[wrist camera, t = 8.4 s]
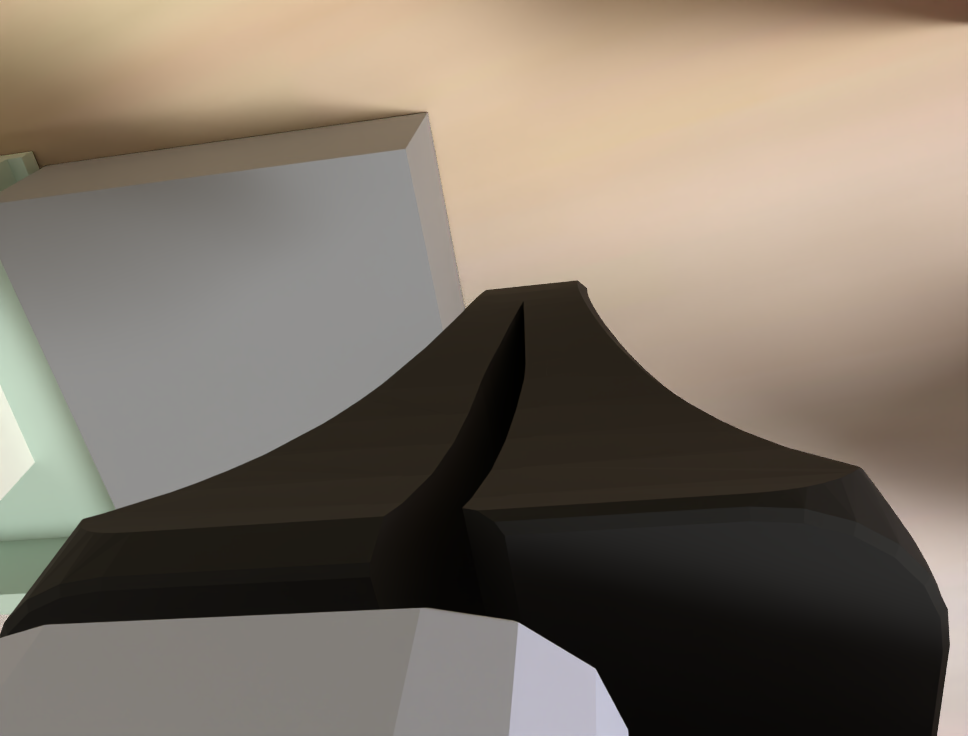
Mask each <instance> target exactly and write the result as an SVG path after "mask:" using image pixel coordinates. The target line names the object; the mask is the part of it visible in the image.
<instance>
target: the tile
mask: <svg viewBox="0 0 968 736" xmlns="http://www.w3.org/2000/svg"><path fill="white" fill-rule="evenodd" d="M34 463H35V462H34V459H33V457H32V455H31V453H30V451H29V448H28V446H27V444H26V442H25V439H24V437H23V435H22V433H21V430H20V428H19V426H18V424H17V421H16V419H15V417H14V415H13V412H12V410H11V408H10V406H9V403H8V401H7V399H6V397H5V394H4V392H3V390H2V388H1V386H0V501H1V499H2V498H3V497H4V496H5V495H6V494H7V493H8V492H9V491H10V489H11V488H12V487H13V486H14V485H15V484H16V483H17V482H18V481H19V479H20V478H21V477H22V476H23V475H24V474H25V473H26V472H27V471H28V470H29V468H30V467H31V466H32V465H33V464H34Z"/></svg>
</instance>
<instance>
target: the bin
mask: <svg viewBox="0 0 968 736" xmlns="http://www.w3.org/2000/svg"><path fill="white" fill-rule="evenodd" d="M37 170H39V166H38V164H37V162H36V159H35V157H34V154H33V152H32V151H31V152H24V153H17V154H10V155H3V156H0V192H1V191H3V190H4V189H6V188H8V187H10V186H11V185H13V184H15V183H17V182H18V181H20V180H22V179H23V178H25V177H27V176H29V175H30V174H32V173H34V172H36V171H37ZM0 386H1V388H2V390H3V392H4V394H5V397H6V399H7V401H8V403H9V406H10V408H11V410H12V412H13V415H14V417H15V419H16V421H17V424H18V426H19V428H20V430H21V433H22V435H23V437H24V439H25V442H26V444H27V446H28V448H29V451H30V453H31V455H32V457H33V459H34V462H35V463H34V464H33V465H32V466H31V467H30V468H29V470H28V471H27V472H26V473H25V474H24V475H23V476H22V477H21V478H20V479H19V481H18V482H17V483H16V484H15V485H14V486H13V487H12V488H11V489H10V491H9V492H8V493H7V494H6V495H5V496H4V497H3V498H2V499H1V501H0V615H4V614H11V613H12V612H13V611H14V609H15V608H16V607H17V605H18V604H19V603H20V601H21V600H22V599H23V597H24V596H25V595H26V593H27V592H28V591H29V589H30V588H31V587H32V585H33V584H34V583H35V581H36V580H37V579H38V577H39V576H40V575H41V573H42V572H43V571H44V569H45V568H46V567H47V565H48V564H49V563H50V561H51V560H52V559H53V557H54V556H55V555H56V553H57V552H58V551H59V549H60V548H61V547H62V545H63V544H64V543H65V541H66V540H67V539H68V537H69V536H70V535H71V533H72V532H73V531H74V529H75V528H76V527H77V525H78V524H79V523H80V521H81V520H82V519H84V518H88V517H92V516H95V515H99V514H103V513H106V512H109V511H112V510H116V509H115V506H114V504H113V502H112V500H111V498H110V496H109V494H108V491H107V489H106V487H105V485H104V483H103V481H102V478H101V476H100V474H99V472H98V470H97V468H96V465H95V463H94V461H93V459H92V457H91V455H90V453H89V450H88V448H87V446H86V444H85V442H84V440H83V437H82V435H81V433H80V431H79V429H78V427H77V424H76V422H75V420H74V418H73V416H72V414H71V412H70V409H69V407H68V405H67V403H66V401H65V399H64V396H63V394H62V392H61V390H60V388H59V386H58V383H57V381H56V379H55V377H54V375H53V373H52V370H51V368H50V366H49V364H48V362H47V360H46V358H45V355H44V353H43V351H42V349H41V347H40V345H39V342H38V340H37V338H36V336H35V334H34V332H33V329H32V327H31V325H30V323H29V321H28V319H27V317H26V314H25V312H24V310H23V308H22V306H21V304H20V301H19V299H18V297H17V295H16V293H15V291H14V288H13V286H12V284H11V282H10V280H9V278H8V276H7V273H6V271H5V269H4V267H3V265H2V263H1V260H0Z"/></svg>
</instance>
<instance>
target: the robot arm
mask: <svg viewBox="0 0 968 736" xmlns="http://www.w3.org/2000/svg"><path fill="white" fill-rule="evenodd" d="M949 647H950V641H949V624H948V609H947V607H946V605H945V603H944V601H943V599H942V597H941V594H940V591H939V588H938V585H937V583H936V581H935V579H934V577H933V574H932V572H931V570H930V568H929V566H928V564H927V562H926V560H925V559H924V557H923V555H922V553H921V552H920V550H919V548H918V546H917V545H916V543H915V541H914V540H913V538H912V537H911V535H910V534H909V532H908V531H907V529H906V528H905V527H904V525H903V524H902V522H901V521H900V519H899V518H898V517H897V515H896V514H895V512H894V511H893V510H892V508H891V507H890V505H889V504H888V503H887V501H886V500H885V499H884V497H883V496H882V494H881V493H880V492H879V490H878V489H877V488H876V486H875V485H874V484H873V482H872V481H871V480H870V478H869V477H868V476H867V474H866V473H865V472H864V471H863V470H862V469H861V468H860V467H858V466H854V465H850V464H846V463H843V462H839V461H835V460H831V459H828V458H824V457H820V456H816V455H813V454H809V453H805V452H801V451H798V450H794V449H790V448H787V447H784V446H781V445H778V444H775V443H773V442H770V441H768V440H765V439H763V438H760V437H757V436H755V435H752V434H750V433H747V432H744V431H742V430H740V429H738V428H735V427H733V426H731V425H729V424H727V423H725V422H722V421H720V420H718V419H717V418H715V417H713V416H711V415H709V414H707V413H706V412H704V411H702V410H700V409H698V408H697V407H695V406H693V405H691V404H689V403H688V402H686V401H685V400H683V399H681V398H680V397H678V396H677V395H675V394H674V393H672V392H671V391H670V390H668V389H667V388H666V387H664V386H663V385H662V384H661V383H660V382H658V381H657V380H656V379H655V378H654V377H653V376H652V375H650V374H649V373H648V372H647V371H646V370H645V369H644V368H643V367H642V366H641V365H640V364H639V363H638V362H637V361H636V360H635V359H634V358H633V357H632V356H631V355H630V354H629V353H628V352H627V351H626V350H625V348H624V347H623V346H622V345H621V344H620V343H619V342H618V340H617V339H616V338H615V336H614V335H613V334H612V333H611V331H610V330H609V329H608V328H607V326H606V325H605V324H604V322H603V321H602V319H601V318H600V317H599V315H598V313H597V312H596V310H595V308H594V307H593V305H592V303H591V301H590V299H589V297H588V294H587V288H586V287H585V286H584V285H582V284H581V283H580V282H579V281H569V282H560V283H550V284H541V285H531V286H521V287H512V288H502V289H493V290H486V291H484V292H483V293H482V294H480V295H479V296H478V297H477V298H476V299H475V300H474V301H473V302H472V303H471V304H470V305H469V306H468V307H467V308H466V309H465V310H464V311H463V312H462V313H461V314H460V315H459V316H458V317H457V318H456V319H455V320H454V321H453V322H452V323H451V324H450V325H449V326H448V327H446V328H445V329H444V330H443V331H442V332H441V333H440V334H439V335H438V336H437V337H436V338H435V339H434V340H433V341H432V342H431V343H430V344H429V345H428V346H427V347H425V348H424V349H423V350H422V351H421V352H420V353H418V354H417V355H416V356H415V357H414V358H413V359H411V360H410V361H409V362H408V363H407V364H405V365H404V366H403V367H402V368H401V369H399V370H398V371H397V372H396V373H395V374H393V375H392V376H391V377H390V378H389V379H388V380H386V381H385V382H384V383H383V384H381V385H380V386H379V387H377V388H376V389H375V390H373V391H372V392H370V393H369V394H368V395H366V396H365V397H363V398H362V399H361V400H359V401H358V402H356V403H355V404H353V405H351V406H350V407H348V408H347V409H345V410H344V411H342V412H341V413H339V414H338V415H336V416H335V417H333V418H331V419H330V420H328V421H326V422H325V423H323V424H321V425H319V426H317V427H316V428H314V429H312V430H310V431H308V432H306V433H304V434H302V435H300V436H299V437H297V438H295V439H293V440H291V441H289V442H287V443H285V444H283V445H282V446H280V447H278V448H276V449H274V450H272V451H270V452H268V453H266V454H264V455H262V456H260V457H258V458H255V459H253V460H251V461H249V462H246V463H244V464H242V465H239V466H237V467H235V468H233V469H230V470H228V471H225V472H223V473H220V474H218V475H215V476H213V477H210V478H208V479H205V480H203V481H200V482H198V483H195V484H192V485H190V486H187V487H184V488H181V489H178V490H176V491H173V492H170V493H167V494H163V495H160V496H157V497H154V498H151V499H147V500H144V501H141V502H138V503H135V504H131V505H128V506H125V507H122V508H119V509H116V510H112V511H109V512H106V513H103V514H99V515H95V516H92V517H88V518H84V519H82V520H81V521H80V523H79V524H78V525H77V527H76V528H75V529H74V531H73V532H72V533H71V535H70V536H69V537H68V539H67V540H66V541H65V543H64V544H63V545H62V547H61V548H60V549H59V551H58V552H57V553H56V555H55V556H54V557H53V559H52V560H51V561H50V563H49V564H48V565H47V567H46V568H45V569H44V571H43V572H42V573H41V575H40V576H39V577H38V579H37V580H36V581H35V583H34V584H33V585H32V587H31V588H30V589H29V591H28V592H27V593H26V595H25V596H24V597H23V599H22V600H21V601H20V603H19V604H18V605H17V607H16V608H15V609H14V611H13V612H12V613H11V615H10V616H9V617H8V619H7V620H6V621H5V623H4V625H3V628H2V631H1V634H0V736H937V731H938V724H939V717H940V710H941V703H942V696H943V689H944V682H945V675H946V668H947V661H948V654H949Z"/></svg>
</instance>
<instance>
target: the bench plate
mask: <svg viewBox="0 0 968 736" xmlns="http://www.w3.org/2000/svg"><path fill="white" fill-rule="evenodd" d="M0 260H1V263H2V265H3V267H4V269H5V271H6V273H7V276H8V278H9V280H10V282H11V284H12V286H13V288H14V291H15V293H16V295H17V297H18V299H19V301H20V304H21V306H22V308H23V310H24V312H25V314H26V317H27V319H28V321H29V323H30V325H31V327H32V329H33V332H34V334H35V336H36V338H37V340H38V342H39V345H40V347H41V349H42V351H43V353H44V355H45V358H46V360H47V362H48V364H49V366H50V368H51V370H52V373H53V375H54V377H55V379H56V381H57V383H58V386H59V388H60V390H61V392H62V394H63V396H64V399H65V401H66V403H67V405H68V407H69V409H70V412H71V414H72V416H73V418H74V420H75V422H76V424H77V427H78V429H79V431H80V433H81V435H82V437H83V440H84V442H85V444H86V446H87V448H88V450H89V453H90V455H91V457H92V459H93V461H94V463H95V465H96V468H97V470H98V472H99V474H100V476H101V478H102V481H103V483H104V485H105V487H106V489H107V491H108V494H109V496H110V498H111V500H112V502H113V504H114V506H115V509H119V508H122V507H125V506H128V505H131V504H135V503H138V502H141V501H144V500H147V499H151V498H154V497H157V496H160V495H163V494H167V493H170V492H173V491H176V490H178V489H181V488H184V487H187V486H190V485H192V484H195V483H198V482H200V481H203V480H205V479H208V478H210V477H213V476H215V475H218V474H220V473H223V472H225V471H228V470H230V469H233V468H235V467H237V466H239V465H242V464H244V463H246V462H249V461H251V460H253V459H255V458H258V457H260V456H262V455H264V454H266V453H268V452H270V451H272V450H274V449H276V448H278V447H280V446H282V445H283V444H285V443H287V442H289V441H291V440H293V439H295V438H297V437H299V436H300V435H302V434H304V433H306V432H308V431H310V430H312V429H314V428H316V427H317V426H319V425H321V424H323V423H325V422H326V421H328V420H330V419H331V418H333V417H335V416H336V415H338V414H339V413H341V412H342V411H344V410H345V409H347V408H348V407H350V406H351V405H353V404H355V403H356V402H358V401H359V400H361V399H362V398H363V397H365V396H366V395H368V394H369V393H370V392H372V391H373V390H375V389H376V388H377V387H379V386H380V385H381V384H383V383H384V382H385V381H386V380H388V379H389V378H390V377H391V376H392V375H393V374H395V373H396V372H397V371H398V370H399V369H401V368H402V367H403V366H404V365H405V364H407V363H408V362H409V361H410V360H411V359H413V358H414V357H415V356H416V355H417V354H418V353H420V352H421V351H422V350H423V349H424V348H425V347H427V346H428V345H429V344H430V343H431V342H432V341H433V340H434V339H435V338H436V337H437V336H438V335H439V334H440V333H441V332H442V331H443V330H444V329H445V328H446V327H448V326H449V325H450V324H451V323H452V322H453V321H454V320H455V319H456V318H457V317H458V316H459V315H460V314H461V313H462V312H463V311H464V310H465V307H464V302H463V296H462V291H461V286H460V280H459V275H458V270H457V265H456V259H455V254H454V249H453V243H452V238H451V233H450V227H449V222H448V217H447V212H446V206H445V201H444V196H443V190H442V185H441V180H440V174H439V169H438V164H437V159H436V153H435V148H434V143H433V137H432V132H431V127H430V122H429V116H428V112H426V113H419V114H412V115H404V116H397V117H390V118H383V119H376V120H369V121H362V122H354V123H347V124H340V125H333V126H326V127H319V128H312V129H304V130H297V131H290V132H283V133H276V134H269V135H261V136H254V137H247V138H240V139H233V140H226V141H219V142H211V143H204V144H197V145H190V146H183V147H176V148H169V149H161V150H154V151H147V152H140V153H133V154H126V155H118V156H111V157H104V158H97V159H90V160H83V161H76V162H68V163H61V164H54V165H47V166H44V167H43V168H41V169H39V170H37V171H36V172H34V173H32V174H30V175H29V176H27V177H25V178H23V179H22V180H20V181H18V182H17V183H15V184H13V185H11V186H10V187H8V188H6V189H4V190H3V191H1V192H0Z"/></svg>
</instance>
